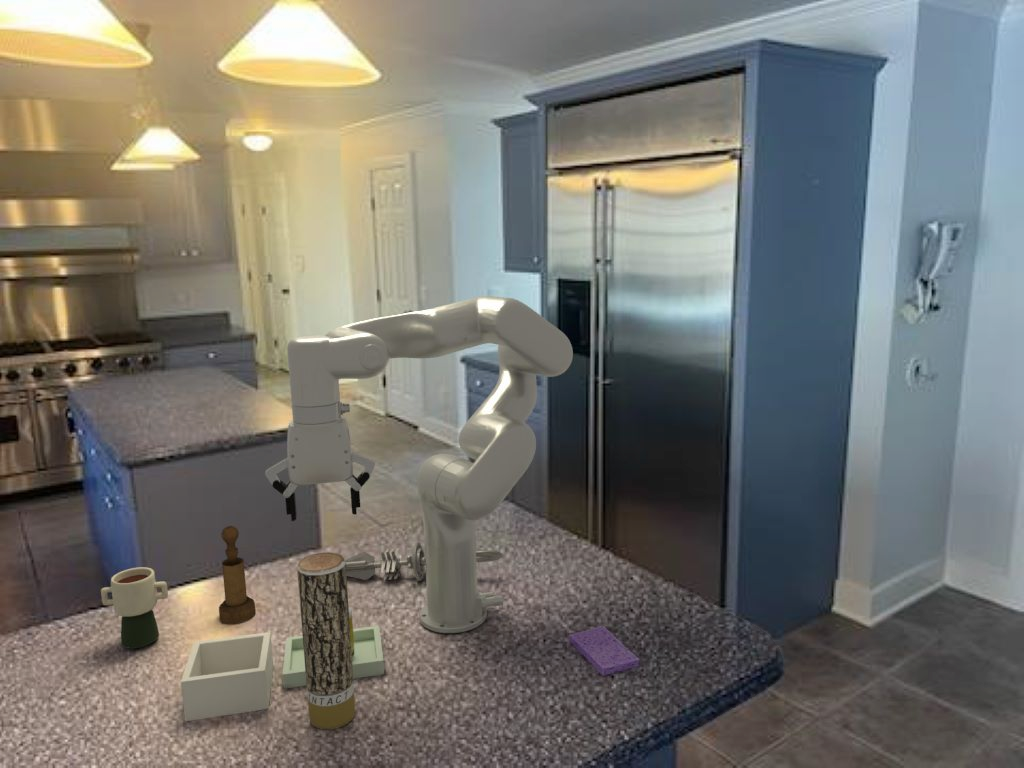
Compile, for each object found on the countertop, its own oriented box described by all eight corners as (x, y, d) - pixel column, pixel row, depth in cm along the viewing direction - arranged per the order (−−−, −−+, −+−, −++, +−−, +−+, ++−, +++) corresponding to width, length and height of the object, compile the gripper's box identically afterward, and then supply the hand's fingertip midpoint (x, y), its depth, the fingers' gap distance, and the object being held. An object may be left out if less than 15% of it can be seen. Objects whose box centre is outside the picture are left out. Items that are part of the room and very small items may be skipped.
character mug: (177, 629, 144) (169, 563, 142) (168, 648, 137) (160, 580, 135) (113, 636, 142) (105, 570, 139) (102, 656, 135) (92, 587, 133)
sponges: (602, 678, 126) (602, 668, 126) (568, 642, 137) (568, 632, 137) (639, 668, 128) (640, 658, 128) (603, 633, 140) (603, 624, 140)
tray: (379, 638, 139) (378, 625, 139) (384, 674, 128) (383, 660, 127) (287, 650, 136) (286, 637, 135) (283, 688, 124) (282, 674, 124)
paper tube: (313, 706, 119) (301, 553, 115) (358, 702, 120) (348, 551, 115) (305, 733, 113) (292, 573, 108) (353, 730, 113) (342, 570, 109)
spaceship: (498, 554, 155) (500, 527, 162) (330, 569, 159) (338, 541, 165) (504, 582, 159) (505, 554, 166) (340, 595, 163) (348, 567, 170)
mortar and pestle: (243, 625, 145) (235, 534, 142) (212, 622, 146) (203, 532, 143) (262, 608, 151) (254, 521, 148) (232, 606, 153) (223, 519, 149)
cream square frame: (273, 667, 130) (270, 631, 129) (268, 708, 119) (264, 670, 118) (198, 677, 128) (194, 641, 127) (185, 721, 116) (180, 681, 115)
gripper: (370, 404, 129) (376, 502, 132) (262, 412, 125) (271, 512, 129) (373, 414, 122) (379, 517, 125) (258, 423, 118) (267, 529, 121)
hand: (324, 514), depth 127 cm, fingers open, 9 cm apart
